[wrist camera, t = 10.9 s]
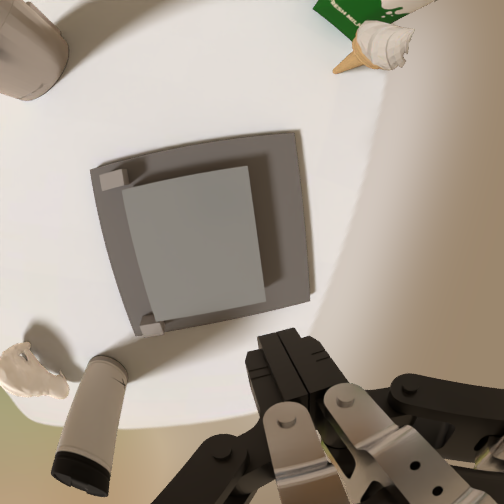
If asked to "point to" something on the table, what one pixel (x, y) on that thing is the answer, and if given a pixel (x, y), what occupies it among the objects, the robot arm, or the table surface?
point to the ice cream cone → (377, 47)
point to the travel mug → (92, 428)
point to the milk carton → (365, 12)
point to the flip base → (265, 210)
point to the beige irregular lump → (29, 375)
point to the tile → (196, 242)
